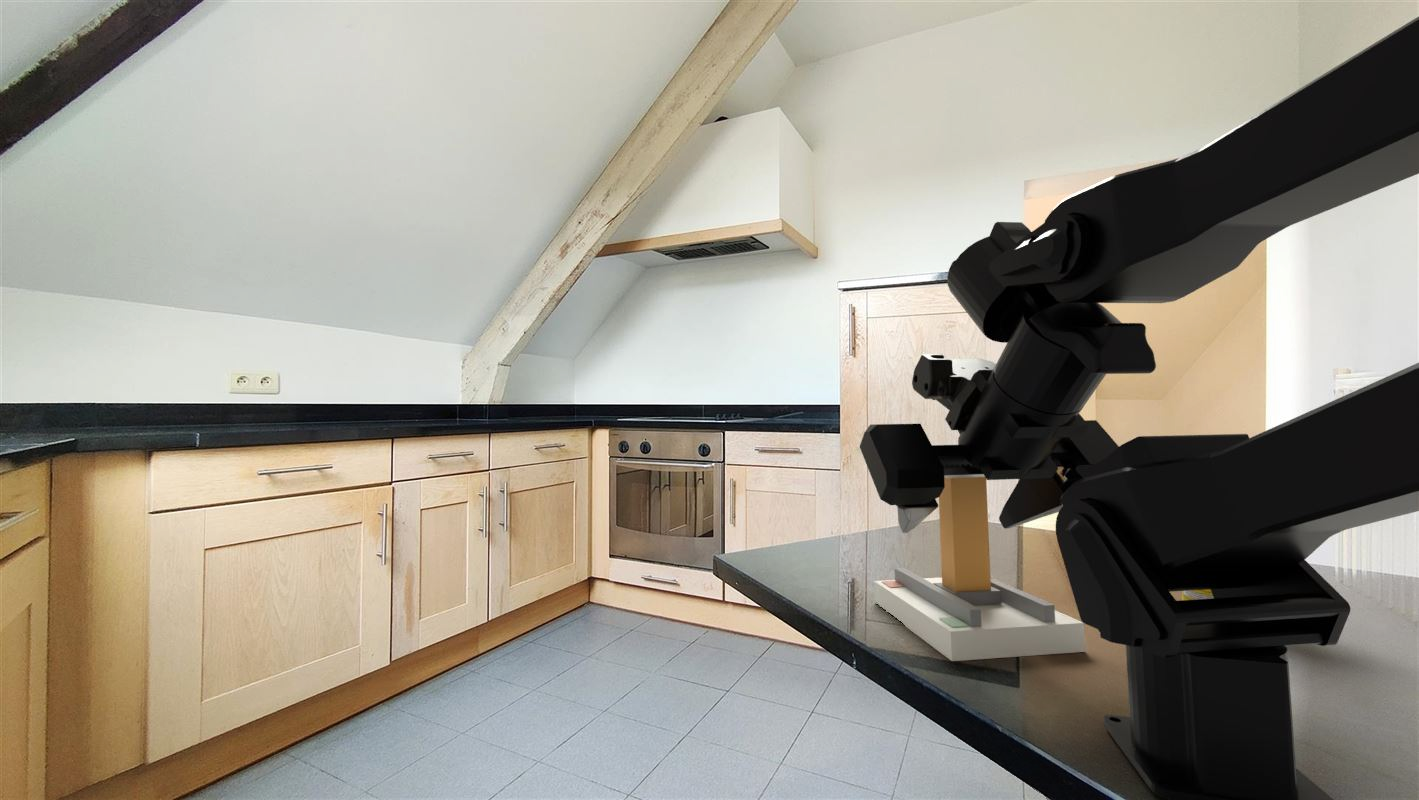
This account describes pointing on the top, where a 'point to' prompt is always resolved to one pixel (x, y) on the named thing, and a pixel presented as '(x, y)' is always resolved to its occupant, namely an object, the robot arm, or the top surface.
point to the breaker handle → (966, 541)
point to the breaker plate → (979, 620)
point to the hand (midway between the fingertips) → (953, 525)
